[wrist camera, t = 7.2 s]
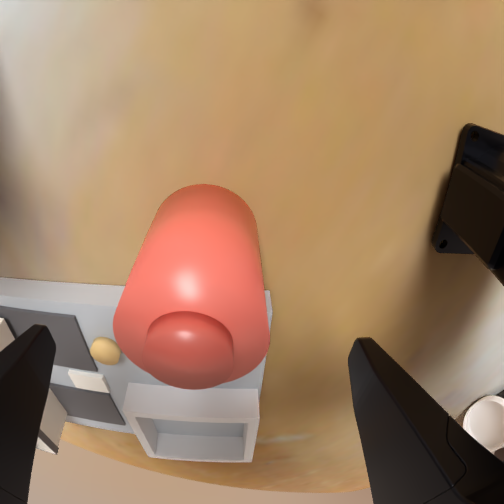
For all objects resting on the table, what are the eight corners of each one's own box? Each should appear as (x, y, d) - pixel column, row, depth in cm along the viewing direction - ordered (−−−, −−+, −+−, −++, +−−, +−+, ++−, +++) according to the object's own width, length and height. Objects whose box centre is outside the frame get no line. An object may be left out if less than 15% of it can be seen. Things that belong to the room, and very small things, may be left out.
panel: (269, 290, 15) (282, 387, 11) (252, 424, 23) (255, 486, 18) (-36, 273, 14) (-80, 332, 9) (38, 399, 22) (21, 450, 17)
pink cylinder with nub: (260, 185, 13) (282, 304, 7) (253, 276, 15) (264, 407, 9) (149, 184, 12) (85, 297, 7) (158, 273, 15) (125, 400, 9)
